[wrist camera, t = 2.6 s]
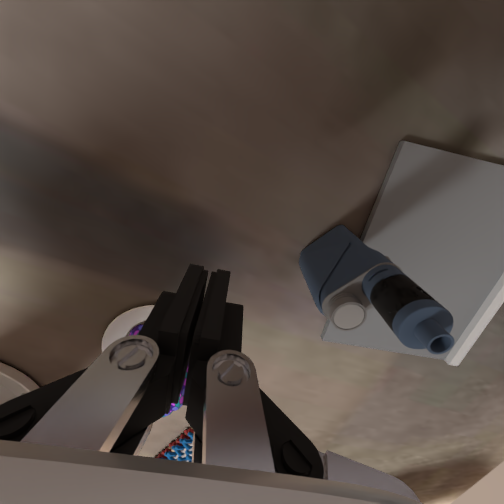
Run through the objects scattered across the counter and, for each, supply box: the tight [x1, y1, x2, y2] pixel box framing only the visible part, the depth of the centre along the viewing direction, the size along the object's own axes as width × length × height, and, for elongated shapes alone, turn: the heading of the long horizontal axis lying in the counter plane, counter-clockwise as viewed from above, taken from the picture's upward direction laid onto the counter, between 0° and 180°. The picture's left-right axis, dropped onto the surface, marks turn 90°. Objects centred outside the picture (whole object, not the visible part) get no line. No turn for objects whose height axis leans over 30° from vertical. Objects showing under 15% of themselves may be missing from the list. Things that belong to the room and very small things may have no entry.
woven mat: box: [155, 427, 194, 462], centre depth 32 cm, size 10×11×2 cm
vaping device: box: [299, 225, 454, 355], centre depth 16 cm, size 3×5×12 cm, turn 128°
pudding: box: [101, 305, 189, 417], centre depth 24 cm, size 12×12×5 cm
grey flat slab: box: [321, 141, 504, 366], centre depth 22 cm, size 18×14×1 cm
